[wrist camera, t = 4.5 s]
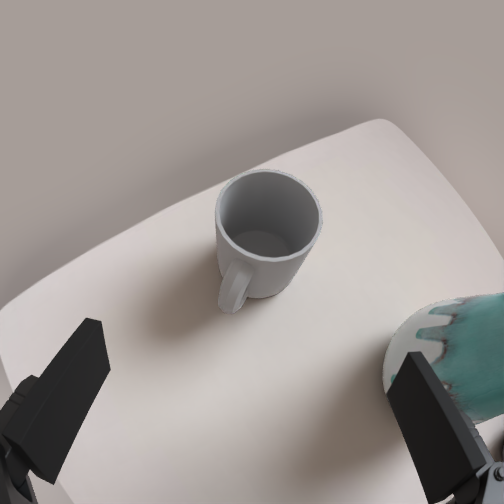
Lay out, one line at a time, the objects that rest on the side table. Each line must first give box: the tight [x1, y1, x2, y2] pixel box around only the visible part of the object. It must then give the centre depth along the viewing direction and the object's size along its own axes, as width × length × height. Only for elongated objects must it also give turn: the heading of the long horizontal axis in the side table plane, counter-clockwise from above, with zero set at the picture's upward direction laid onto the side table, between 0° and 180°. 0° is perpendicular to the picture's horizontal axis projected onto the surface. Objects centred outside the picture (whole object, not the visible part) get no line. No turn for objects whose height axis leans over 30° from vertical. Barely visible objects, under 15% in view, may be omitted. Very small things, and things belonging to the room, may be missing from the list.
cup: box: [215, 169, 323, 314], centre depth 23 cm, size 7×10×9 cm
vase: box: [382, 292, 504, 425], centre depth 16 cm, size 12×12×18 cm
